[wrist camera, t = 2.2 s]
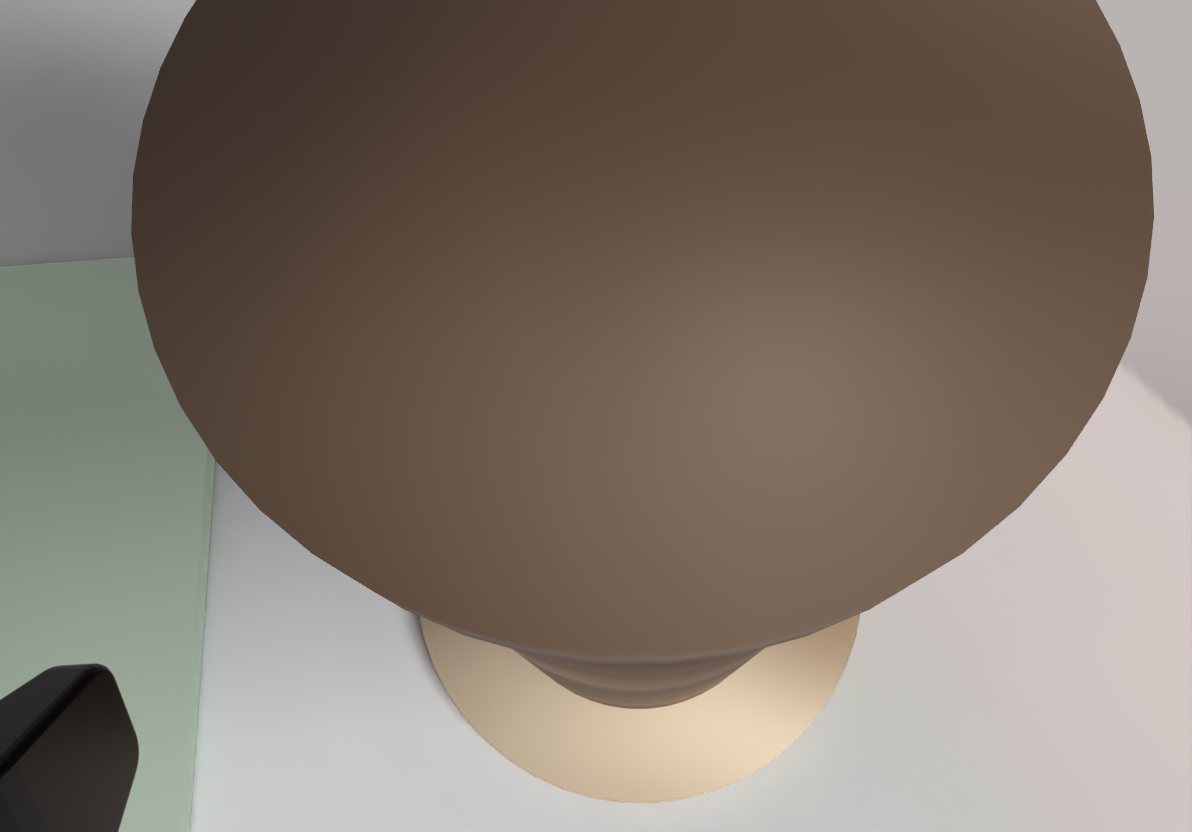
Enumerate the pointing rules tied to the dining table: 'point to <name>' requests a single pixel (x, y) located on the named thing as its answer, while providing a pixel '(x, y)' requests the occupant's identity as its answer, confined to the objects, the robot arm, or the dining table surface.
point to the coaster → (641, 717)
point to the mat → (103, 514)
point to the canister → (641, 299)
